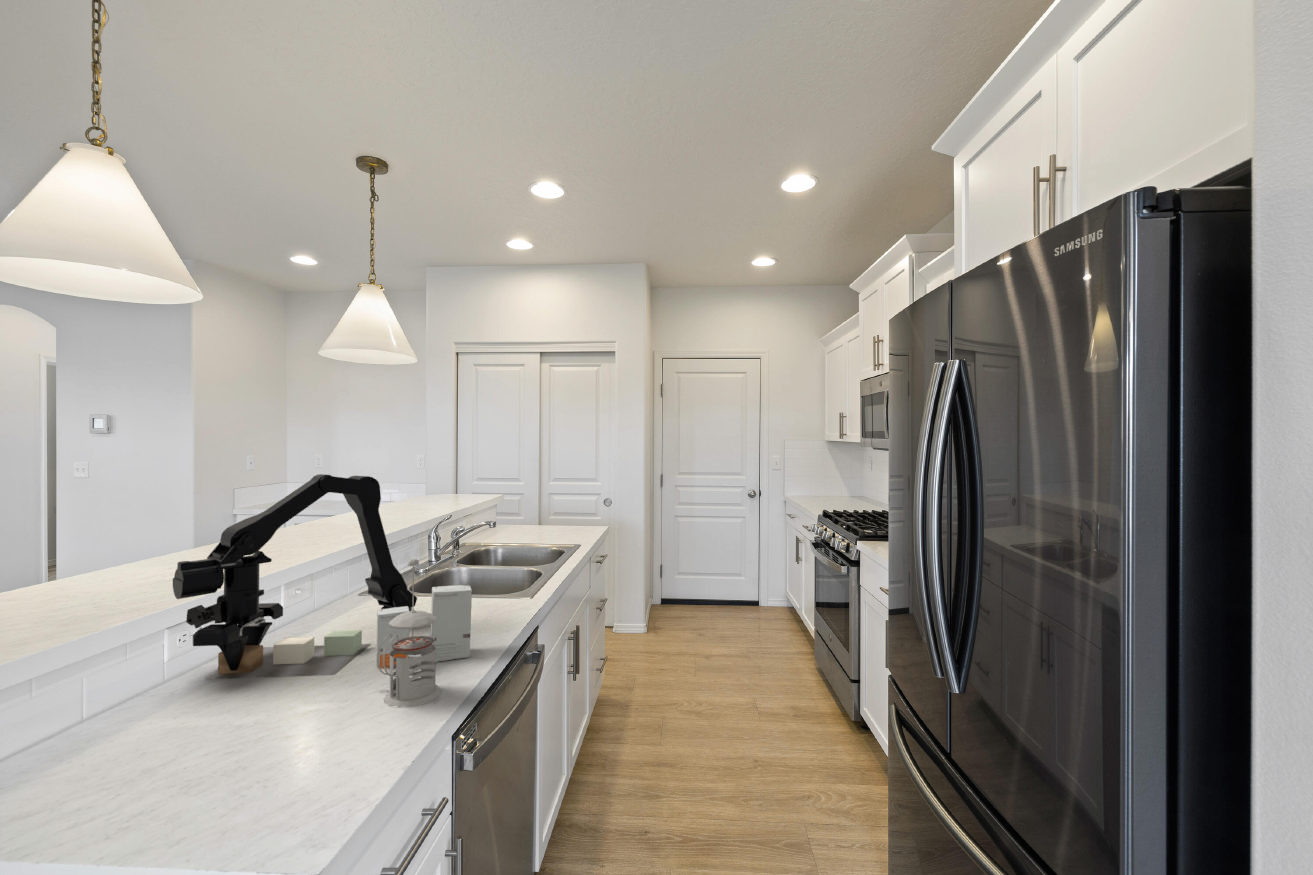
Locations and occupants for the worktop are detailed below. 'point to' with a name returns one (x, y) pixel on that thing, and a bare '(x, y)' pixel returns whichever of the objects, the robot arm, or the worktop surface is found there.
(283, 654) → the cream brick
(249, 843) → the worktop surface
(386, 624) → the skincare box
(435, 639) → the skincare box
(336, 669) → the slate board
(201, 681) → the worktop surface
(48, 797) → the worktop surface
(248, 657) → the walnut brick
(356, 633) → the sage brick
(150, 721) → the worktop surface
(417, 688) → the french press
